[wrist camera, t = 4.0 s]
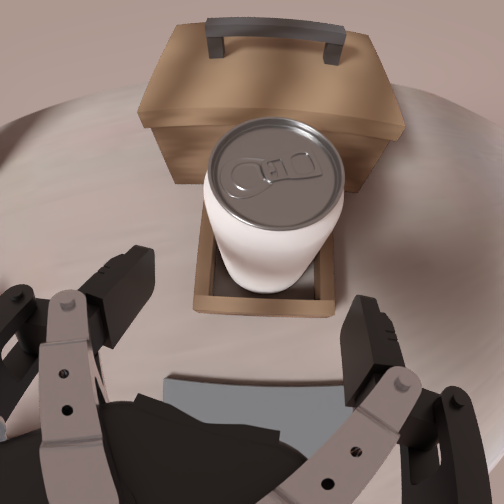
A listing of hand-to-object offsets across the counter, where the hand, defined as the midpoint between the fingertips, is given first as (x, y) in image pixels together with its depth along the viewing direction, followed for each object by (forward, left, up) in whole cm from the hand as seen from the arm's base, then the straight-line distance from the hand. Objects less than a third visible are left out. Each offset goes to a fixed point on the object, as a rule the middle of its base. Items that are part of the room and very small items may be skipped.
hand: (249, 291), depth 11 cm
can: (+1, +5, -11) cm, 12 cm away
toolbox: (+1, +11, -11) cm, 15 cm away
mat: (+1, -11, -11) cm, 16 cm away
